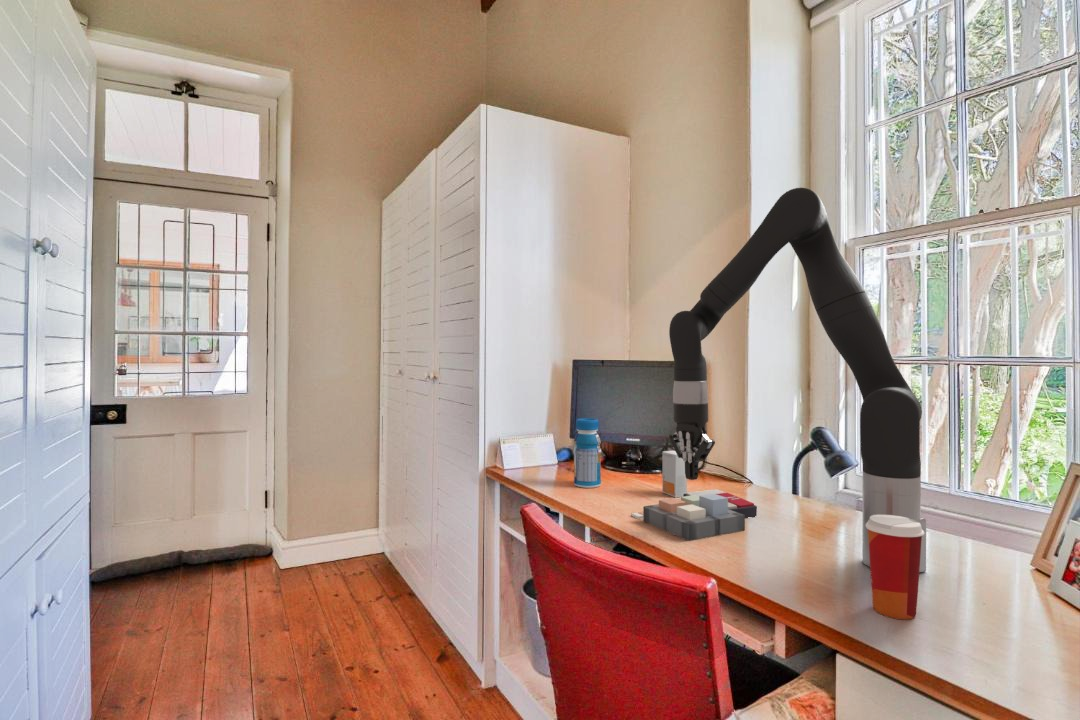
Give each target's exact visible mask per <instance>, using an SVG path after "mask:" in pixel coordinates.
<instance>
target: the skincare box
mask: <svg viewBox="0 0 1080 720" xmlns="http://www.w3.org/2000/svg"><path fill="white" fill-rule="evenodd" d="M661 453H662V462H661V463H662V469H661V470H662V473H661V474H662V476H661V478H662V481H661V483H662V487H661V488H662V494H665V495H668V496H671V497H672V498H675V499H678V498H681V497H683V495H684V494H686V493H687V492H688V479H686V475H685V462H684V461H683V459H682V458H679V457H678V456H677V453H676V451H675V450H664V451H662V452H661Z"/></svg>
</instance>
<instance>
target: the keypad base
mask: <svg viewBox="0 0 1080 720" xmlns="http://www.w3.org/2000/svg"><path fill="white" fill-rule="evenodd" d="M642 512H643V518H642V519H643V522H644V523H646V524H649V525H651V526H654V527H656V528H658V529H660V530H662V531H665V532H667V533H669V534H671V535H675V536H677V537H678V538H681V539H683V540H686V541H688V542H690V541H691V542H692V541H696V540H701V539H706V537H707V538H710V537H711V536H712V537H718V536H721V535H722V534H723V535H728V534H732V533H733V532H734V533H738V532H744V530H746V524H745V523H746V518H745V515H744V514H741V513H738V512H735V511H732V510H729V509H728V514H725V515H719V516H710V515H707V514H706V518H701V519H695V520H688V519H685V518H683V517H680V516H677V512H673V513H670V512H667V511H665V510H662V509H659V503H657V504H651V505H644V506H643V511H642ZM727 533H728V534H727ZM717 535H718V536H717ZM712 537H711V538H712Z"/></svg>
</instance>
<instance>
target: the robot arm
mask: <svg viewBox="0 0 1080 720" xmlns="http://www.w3.org/2000/svg"><path fill="white" fill-rule="evenodd" d="M825 207H826V206H825V205H824V204H823V201H822V199H821V198H820V196H819V194H818V193H816V192H815V191H813V190H812V189H810V188H807V187H796V188H792V189H789V190H788V191H786V192H785V193H783V194H782V195H781V196H780V197H779V198H778V199H777V200H776V202H775V203H774V205H773V206H772V207H771V208H770V210H769V211H768V212H767V214H766V216H764V218H763V220H762V221H761V223H760V224H759V226H758V227H757V228H756V230H755V231H754V233H753V234H752V235H751V237H750V238H749V239H748V240H747V241H746V243H745V244H744V245H743V247H741V249H740V250H739V251H738V252H737V254H736V255H734V257H732V259H731V260H730V261H729V262H728V263H727V264H726V266H725V267H723V269H722V270H721V271H720V272H719V273H718V274H717V275H716V276H715V277H714V278H712V279H711V281H710V282H709V283H708V284H707V285H706V286H705V288H704V289H703V290H702V291H701V293H700V295H699V297H700V299H699V300H698V301H697V302H696V304H695V305H694V306H693V307H692V308H691V309H690V310H681V311H679V312H677V313H675V314H674V315H673V317H672V318H671V320H670V323H669V331H668V332H669V333H668V335H669V341H670V348H671V352H672V357H673V380H674V381H673V387H672V390H673V391H672V405H673V406H672V408H673V410H672V412H673V413H672V415H673V417H672V418H673V422H674V423H676V426H675V432H674V433H673V434H671V433H670V434H669V436H668V437H669V438H668V439H669V441H670V443H671V445H672V447H673V449H674V451H676V453H677V456H678V457H679V458H682V459H683V461H684V462H685V475H686V479H687V480H689V481H690V480H691V481H694V480H697V479H698V477H699V463H700V462H703V461H706V460H707V457H708V456H709V454H710V452H711V451H712V449H713V447H714V446H715V444H716V442H715V439H710V438H709V436H708V435H707V433H708V431H707V429H706V424H707V423H708V422H709V391H708V383H707V374H708V373H707V361H706V360H707V359H706V357H705V356H704V355H703V352H702V341H703V340H704V339H706V338H707V337H708V336H709V335H710V334H711V333H712V331H713V330H714V329H715V328H716V326H717V325H718V324H719V322H720V321H721V320H722V319H723V317H724V316H725V315H726V313H727V312H729V311H730V310H731V309H732V308H733V307H734V306H735V305H736V304H737V303H738V301H740V299H742V297H744V296H745V295H746V294H747V292H748V291H749V290H750V289H751V287H752V286H753V285H754V284H755V283H756V281H757V279H758V278H759V277H760V275H761V273H763V270H764V269H765V268H766V267H767V265H769V263H770V262H771V260H772V259H773V258H774V257H775V256H776V255H777V253H779V252H780V251H781V250H782V249H783V248H784V247H785V246H786V245H787V244H790V246H791V247H792V249H793V251H794V253H795V254H796V256H797V258H798V261H799V263H801V265H802V266H801V267H802V268H803V271H804V274H805V279H806V284H807V287H808V291H809V295H810V297H811V301H812V304H813V307H814V309H815V312H816V314H817V316H818V319H819V321H820V323H821V325H822V327H823V329H824V331H825V333H826V335H827V336H828V338H829V339H830V342H831V343H832V344H833V345H834V348H835V349H836V350H837V351H838V354H839V355H840V356H841V357H842V359H843V360H844V362H845V363H846V364H847V365H848V367H849V369H850V370H851V372H852V374H853V376H854V379H855V381H856V383H857V386H858V388H859V392H860V394H861V398H862V401H863V402H862V403H861V407H860V414H859V426H860V427H859V429H860V430H859V433H860V439H859V440H860V457H861V462H862V464H861V465H862V502H861V503H862V504H861V505H862V508H861V509H862V512H861V513H862V515H861V516H862V517H861V518H862V521H861V522H862V526H861V527H862V528H861V529H862V530H861V531H862V533H861V534H862V537H861V538H862V541H861V542H862V545H861V546H862V547H861V548H862V554H861V555H862V559H861V560H862V563H863V564H864V565H866V566H867V567H869V568H870V555H869V539H868V529H867V528H866V526H865V525H866V523H867V522H868V520H869V518H870V516H872V515H895V516H901V517H906V518H909V519H912V520H914V521H916V522H917V523H920V524H921V528H922V530H923V531H924V535H923V536H922V541H921V555H920V569H919V574H920V573H923V572H926V571H927V519H926V518H925V517H922V516H921V515H922V514H921V509H922V508H921V506H922V505H921V502H922V498H921V494H922V493H921V491H922V489H921V487H922V485H921V484H922V483H921V481H922V478H921V477H922V476H921V475H922V471H921V470H922V463H921V462H922V461H921V450H920V449H921V446H920V445H921V440H920V439H921V437H920V436H921V435H920V434H921V433H920V432H921V430H920V429H921V427H920V426H921V418H922V413H923V410H922V406H921V403H920V401H919V399H918V398H917V396H916V395H915V392H913V390H912V389H911V386H909V384H908V383H907V381H906V380H905V378H904V375H903V374H902V373H901V372H900V370H899V368H898V366H897V365H896V362H895V360H894V358H893V356H892V354H891V352H890V349H889V345H888V342H887V341H886V340H887V339H886V336H885V334H884V331H883V328H882V326H881V324H880V321H879V319H878V317H877V314H876V311H875V309H874V307H873V305H872V302H871V301H870V298H869V297H868V295H867V292H866V290H865V288H864V286H863V285H862V283H861V281H860V279H859V278H858V276H857V274H856V273H855V271H854V270H853V269H852V267H851V265H850V263H848V261H847V260H846V259H845V257H844V255H843V254H842V252H841V251H840V248H839V246H838V244H837V241H836V239H835V236H834V233H833V229H832V226H831V224H830V221H829V218H828V214H827V210H826V208H825Z"/></svg>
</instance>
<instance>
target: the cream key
mask: <svg viewBox="0 0 1080 720" xmlns="http://www.w3.org/2000/svg"><path fill="white" fill-rule="evenodd" d="M677 516H680V517H683V518H685V519H688V520H695V519H701V518H706V509H704V508H701V507H698V506H695V505H693V504H691V505H685V506H678V507H677Z"/></svg>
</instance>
